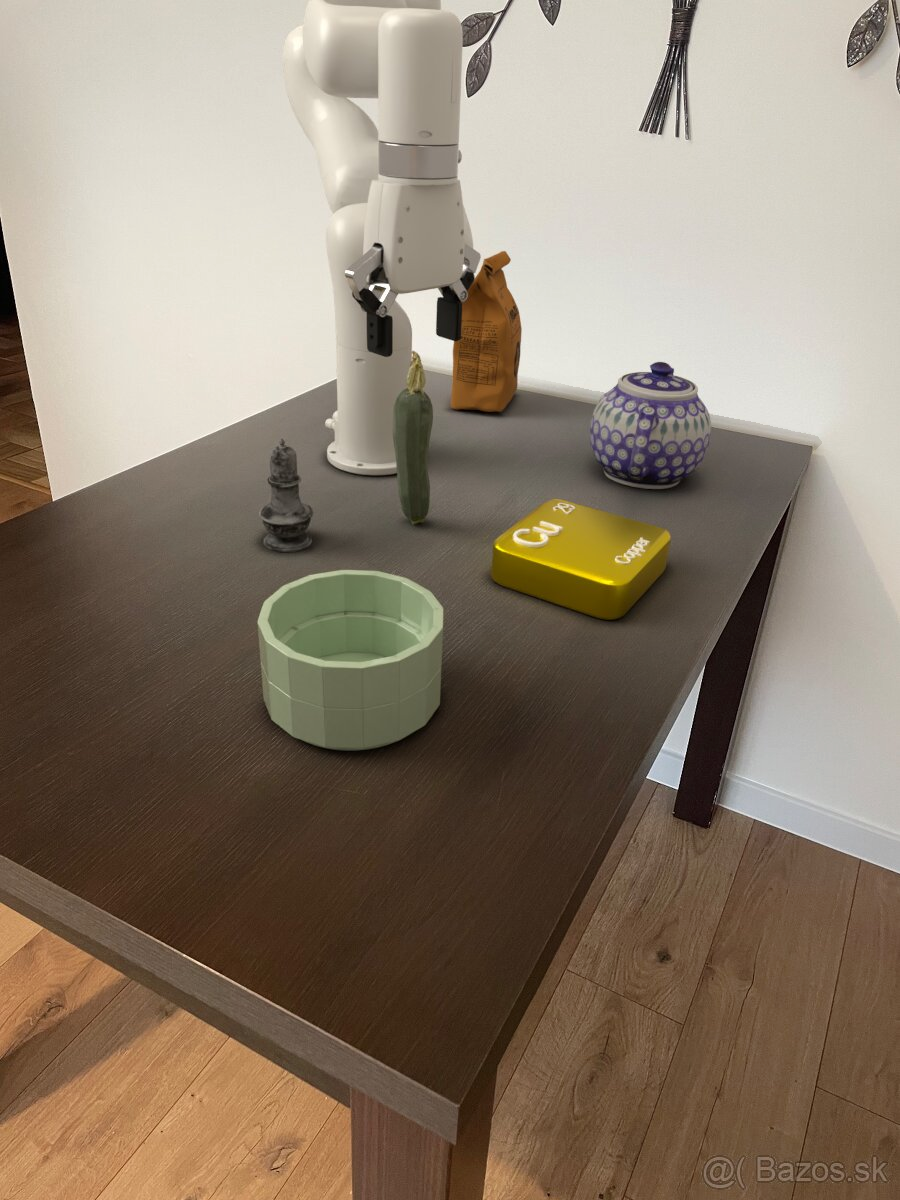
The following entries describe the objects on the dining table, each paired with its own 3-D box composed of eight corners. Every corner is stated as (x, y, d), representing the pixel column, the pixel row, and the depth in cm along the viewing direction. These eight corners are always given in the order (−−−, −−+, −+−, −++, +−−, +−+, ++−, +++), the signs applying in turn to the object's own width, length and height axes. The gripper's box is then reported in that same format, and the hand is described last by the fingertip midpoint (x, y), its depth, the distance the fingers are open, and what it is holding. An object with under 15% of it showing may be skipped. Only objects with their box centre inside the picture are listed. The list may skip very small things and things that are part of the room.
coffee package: (526, 396, 148) (538, 252, 136) (503, 420, 138) (514, 267, 126) (468, 387, 151) (475, 245, 139) (441, 410, 141) (446, 259, 129)
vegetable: (424, 536, 104) (429, 361, 94) (387, 531, 105) (388, 357, 95) (433, 519, 108) (438, 350, 98) (397, 515, 109) (399, 346, 98)
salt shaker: (324, 536, 103) (321, 435, 97) (295, 558, 99) (290, 453, 92) (280, 524, 105) (274, 424, 99) (250, 545, 101) (241, 442, 94)
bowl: (231, 695, 78) (222, 609, 73) (363, 632, 87) (362, 553, 82) (340, 783, 69) (338, 692, 65) (475, 703, 78) (480, 618, 74)
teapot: (687, 523, 110) (711, 402, 102) (563, 499, 114) (576, 381, 106) (712, 451, 130) (733, 345, 123) (605, 433, 135) (619, 330, 127)
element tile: (616, 626, 89) (623, 583, 87) (483, 581, 96) (486, 540, 94) (670, 565, 101) (678, 526, 98) (548, 529, 107) (552, 491, 105)
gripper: (454, 157, 94) (448, 326, 103) (320, 164, 84) (326, 352, 92) (509, 164, 90) (498, 340, 99) (374, 172, 79) (375, 369, 88)
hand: (415, 345), depth 95 cm, fingers open, 9 cm apart
